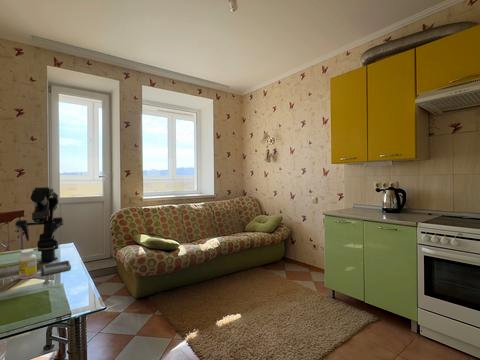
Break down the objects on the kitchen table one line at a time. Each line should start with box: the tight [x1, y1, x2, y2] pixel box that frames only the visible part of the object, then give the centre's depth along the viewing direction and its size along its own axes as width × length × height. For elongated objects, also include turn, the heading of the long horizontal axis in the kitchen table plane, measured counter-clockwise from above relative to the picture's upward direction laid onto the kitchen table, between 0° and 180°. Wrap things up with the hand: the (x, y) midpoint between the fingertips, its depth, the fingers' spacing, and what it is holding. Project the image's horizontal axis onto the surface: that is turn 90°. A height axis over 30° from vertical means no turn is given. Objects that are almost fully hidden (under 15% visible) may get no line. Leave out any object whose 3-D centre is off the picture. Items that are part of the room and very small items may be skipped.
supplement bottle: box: [18, 248, 38, 280], centre depth 127 cm, size 7×7×13 cm
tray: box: [43, 259, 72, 276], centre depth 137 cm, size 11×11×2 cm
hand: (39, 239), depth 129 cm, fingers open, 9 cm apart
